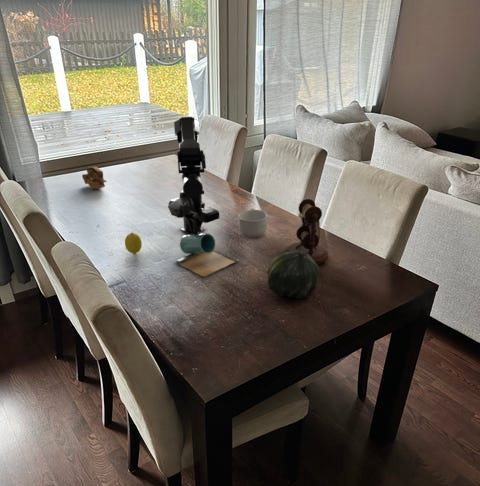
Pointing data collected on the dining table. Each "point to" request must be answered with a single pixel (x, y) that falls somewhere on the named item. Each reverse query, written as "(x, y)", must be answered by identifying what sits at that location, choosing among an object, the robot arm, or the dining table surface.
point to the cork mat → (204, 263)
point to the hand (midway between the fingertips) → (194, 234)
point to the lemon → (133, 243)
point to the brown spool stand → (309, 233)
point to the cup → (197, 244)
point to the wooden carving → (94, 178)
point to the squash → (293, 274)
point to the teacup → (253, 222)
